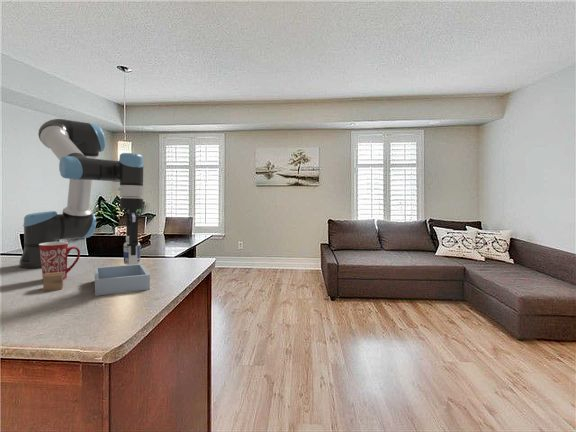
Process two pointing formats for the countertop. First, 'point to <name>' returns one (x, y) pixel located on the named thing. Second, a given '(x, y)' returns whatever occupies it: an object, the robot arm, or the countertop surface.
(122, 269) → the tote
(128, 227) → the robot arm
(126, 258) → the pill bottle
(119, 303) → the countertop surface
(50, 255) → the mug
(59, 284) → the wooden cube
